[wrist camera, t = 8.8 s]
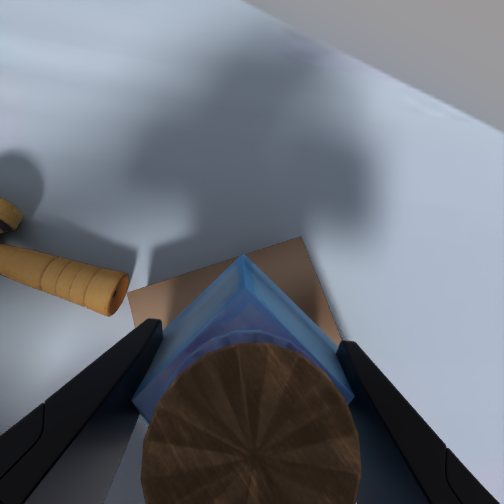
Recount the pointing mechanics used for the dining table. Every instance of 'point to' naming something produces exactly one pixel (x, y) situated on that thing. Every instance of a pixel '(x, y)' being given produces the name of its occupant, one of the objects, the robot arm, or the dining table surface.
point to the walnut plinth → (194, 283)
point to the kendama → (60, 272)
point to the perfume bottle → (247, 403)
